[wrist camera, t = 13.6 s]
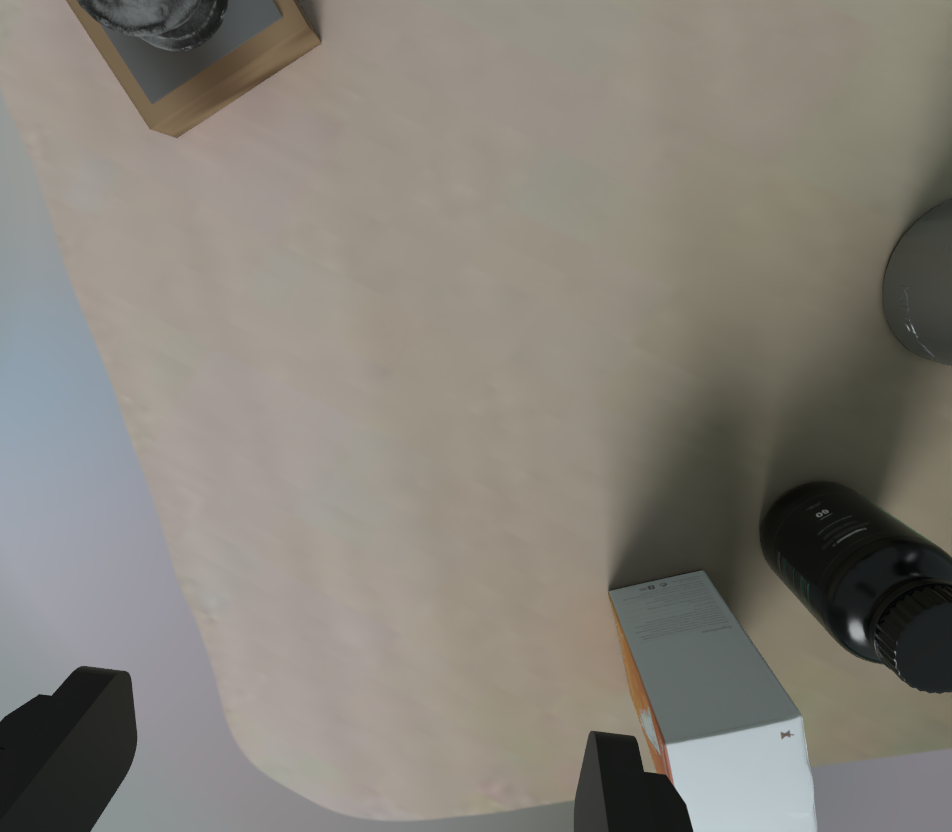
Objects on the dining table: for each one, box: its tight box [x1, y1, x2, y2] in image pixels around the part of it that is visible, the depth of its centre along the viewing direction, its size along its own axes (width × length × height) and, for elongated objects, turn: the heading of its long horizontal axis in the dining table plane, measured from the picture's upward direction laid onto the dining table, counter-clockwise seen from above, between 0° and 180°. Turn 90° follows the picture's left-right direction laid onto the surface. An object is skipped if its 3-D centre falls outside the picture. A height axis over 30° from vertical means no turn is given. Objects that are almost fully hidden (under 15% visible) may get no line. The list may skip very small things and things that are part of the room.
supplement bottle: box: [760, 482, 952, 694], centre depth 35 cm, size 7×7×12 cm
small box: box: [608, 571, 817, 832], centre depth 36 cm, size 8×6×13 cm
